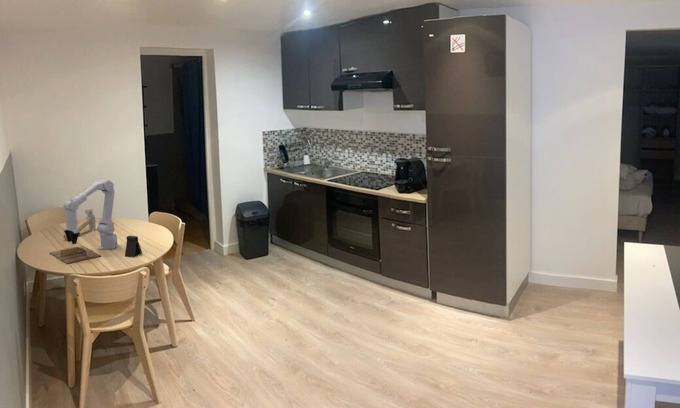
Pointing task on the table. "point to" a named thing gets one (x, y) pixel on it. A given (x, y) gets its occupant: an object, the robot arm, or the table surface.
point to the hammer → (86, 222)
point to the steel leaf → (83, 251)
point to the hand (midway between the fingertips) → (72, 242)
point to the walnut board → (75, 256)
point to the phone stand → (132, 247)
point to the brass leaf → (69, 251)
